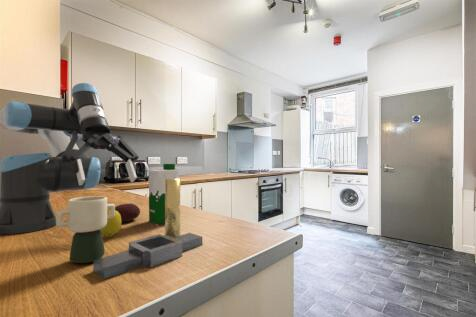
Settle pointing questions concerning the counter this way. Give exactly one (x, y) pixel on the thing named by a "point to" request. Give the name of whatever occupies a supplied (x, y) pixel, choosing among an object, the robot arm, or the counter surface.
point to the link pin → (172, 207)
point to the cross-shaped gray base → (146, 254)
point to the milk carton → (159, 192)
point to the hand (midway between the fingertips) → (110, 181)
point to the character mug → (86, 226)
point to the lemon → (112, 224)
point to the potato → (128, 212)
